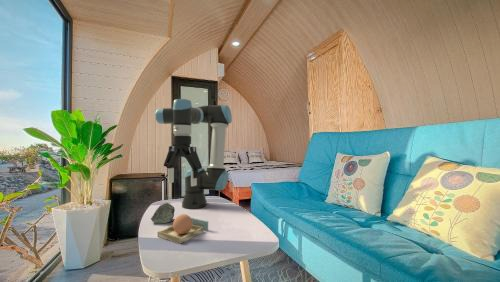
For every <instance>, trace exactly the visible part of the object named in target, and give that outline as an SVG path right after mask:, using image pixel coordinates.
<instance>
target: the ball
mask: <svg viewBox="0 0 500 282" xmlns="http://www.w3.org/2000/svg"><path fill="white" fill-rule="evenodd" d="M190 217H191V216H190V215H188V214H179V215H177V216H176V217H175V219H174V220H173V223H172V226H173V228H174V231H175V232H176V233H178V234H186V233H187V232H189V231H190V229H191V228H192V219H191V218H192V217H191V218H190Z"/></svg>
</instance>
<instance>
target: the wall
mask: <svg viewBox="0 0 500 282" xmlns="http://www.w3.org/2000/svg"><path fill="white" fill-rule="evenodd" d="M189 217H190V218H191V219H192V225H196V226H200V227H204V228H203V232H204V231H205V232H207V231H209V221H208V220H203V219H198V218H194V217H191V216H189Z"/></svg>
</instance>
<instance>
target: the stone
mask: <svg viewBox="0 0 500 282" xmlns="http://www.w3.org/2000/svg"><path fill="white" fill-rule="evenodd" d="M175 209H176V208H175V207H174V206H173V205H172V204H171V203H170V202H165V203H162V204H160V205H159V206H158V207H157V208H156V210H155V211H154V213H153V215H152V216H151V218H150V220H151V222H152V223H153V224H167V223H171V222H172V221H173V219H174V216H175V211H176V210H175Z"/></svg>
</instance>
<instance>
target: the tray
mask: <svg viewBox="0 0 500 282" xmlns="http://www.w3.org/2000/svg"><path fill="white" fill-rule="evenodd" d="M203 228H204V227H200V226H196V225H192V228H191V229H190V231H189V232H187V233H186V234H178V233H176V232H175V231H174V228H173V225H171V226H168V227H166V228H164V229H162V230H159V231H157V237H158V238H160V237H161V239H163V238H165V239H164V240H166V239H168V240H167V241H170V240H171V242H173V241H174V243H176V242H177V243H176V244H179V243H180V245H182V244H184V243H185V242H188V241H189V240H191V239H193V238H195V237H197V236H199V235H200V234H203V233H204V230H203ZM183 242H184V243H183ZM181 243H182V244H181Z"/></svg>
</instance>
